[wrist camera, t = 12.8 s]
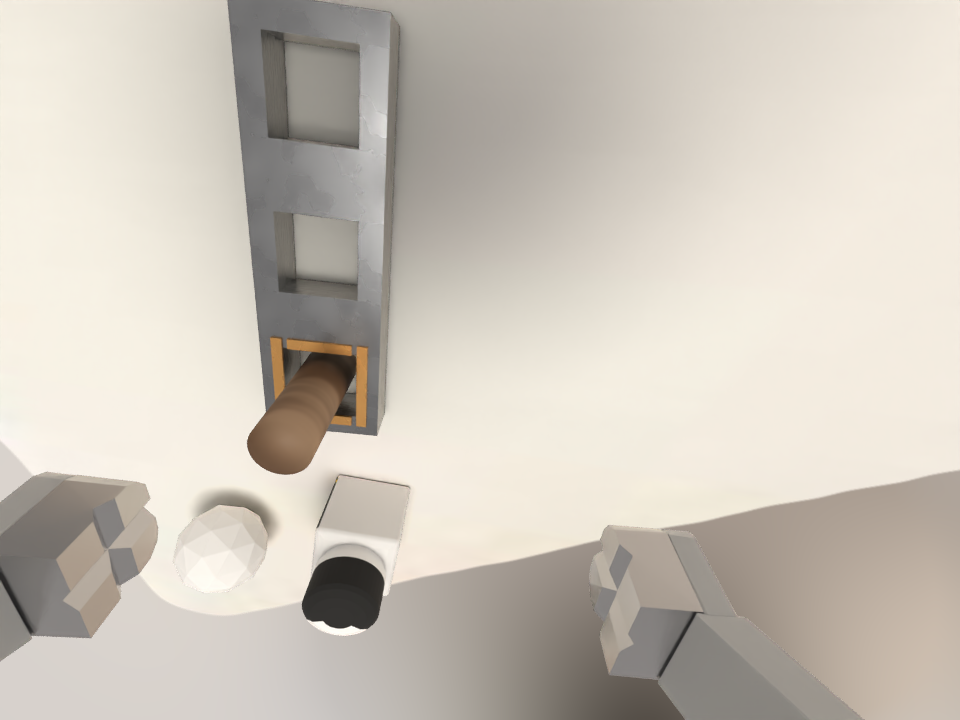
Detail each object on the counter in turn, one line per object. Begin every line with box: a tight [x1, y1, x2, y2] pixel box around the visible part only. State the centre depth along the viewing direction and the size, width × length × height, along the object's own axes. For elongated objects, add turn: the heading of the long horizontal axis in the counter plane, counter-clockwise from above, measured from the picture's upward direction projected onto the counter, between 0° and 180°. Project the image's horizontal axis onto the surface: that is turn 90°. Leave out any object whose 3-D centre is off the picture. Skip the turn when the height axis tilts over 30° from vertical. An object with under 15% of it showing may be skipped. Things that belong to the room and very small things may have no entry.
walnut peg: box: [247, 352, 357, 475], centre depth 34 cm, size 4×4×12 cm
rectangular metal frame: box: [228, 0, 400, 436], centre depth 33 cm, size 29×9×4 cm, turn 173°
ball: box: [173, 505, 268, 593], centre depth 43 cm, size 8×8×8 cm
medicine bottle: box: [302, 475, 410, 636], centre depth 41 cm, size 7×7×12 cm
